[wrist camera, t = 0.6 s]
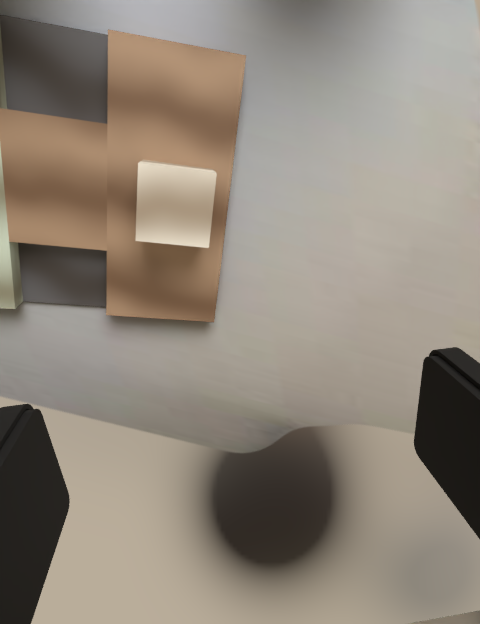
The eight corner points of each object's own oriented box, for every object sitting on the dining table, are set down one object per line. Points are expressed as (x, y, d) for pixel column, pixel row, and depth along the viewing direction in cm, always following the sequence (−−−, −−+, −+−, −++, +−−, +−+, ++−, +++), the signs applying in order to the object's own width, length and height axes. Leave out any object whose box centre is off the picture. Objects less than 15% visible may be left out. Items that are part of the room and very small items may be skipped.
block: (143, 159, 29) (138, 162, 25) (212, 168, 30) (216, 173, 26) (140, 228, 31) (135, 240, 27) (205, 235, 31) (208, 248, 28)
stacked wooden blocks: (-159, -14, 24) (-202, -34, 22) (241, 60, 29) (248, 52, 26) (-97, 291, 32) (-123, 305, 29) (212, 312, 36) (214, 326, 34)
